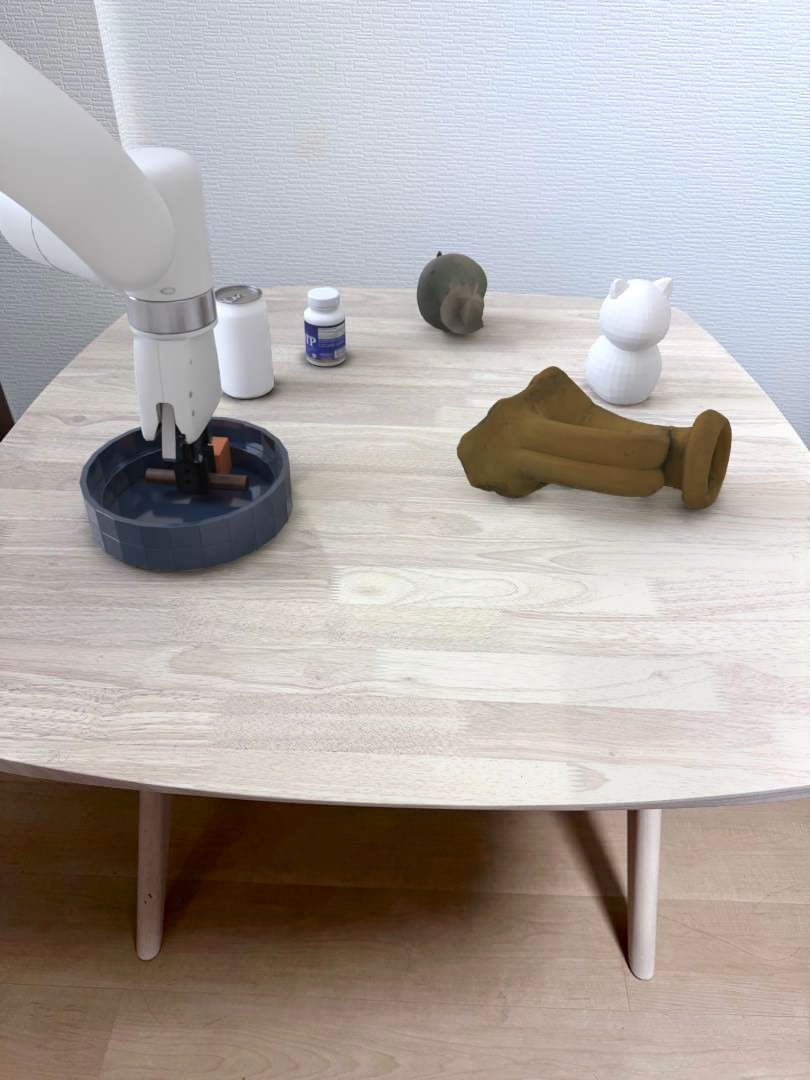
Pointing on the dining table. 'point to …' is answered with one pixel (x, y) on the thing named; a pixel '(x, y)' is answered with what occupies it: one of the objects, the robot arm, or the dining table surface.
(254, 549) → the bowl
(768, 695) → the dining table surface
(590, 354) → the cat figurine
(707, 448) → the brown looped sculpture
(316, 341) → the pill bottle
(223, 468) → the block
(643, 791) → the dining table surface
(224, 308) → the can
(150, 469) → the stick
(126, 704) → the dining table surface
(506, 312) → the dining table surface
